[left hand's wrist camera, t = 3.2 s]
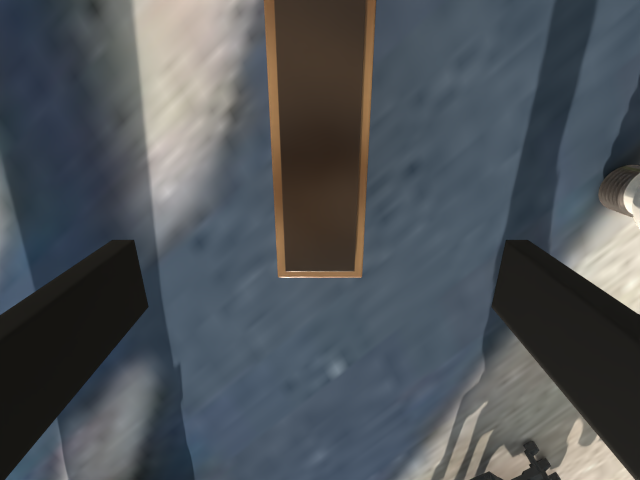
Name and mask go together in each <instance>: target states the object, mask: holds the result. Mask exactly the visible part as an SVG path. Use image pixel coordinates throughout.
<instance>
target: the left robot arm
mask: <svg viewBox="0 0 640 480" xmlns="http://www.w3.org/2000/svg"><path fill="white" fill-rule="evenodd" d="M147 308H148V302H147V298H146V293H145V289H144V284H143V279H142V275H141V270H140V265H139V261H138V256H137V252H136V247H135V242H134V240H112V241H110V242H109V243H107V244H106V245H104V246H103V247H101V248H100V249H98V250H97V251H95V252H94V253H92V254H91V255H89V256H88V257H86V258H85V259H83V260H82V261H80V262H79V263H77V264H76V265H74V266H73V267H71V268H70V269H68V270H67V271H65V272H64V273H62V274H61V275H59V276H58V277H56V278H55V279H53V280H52V281H51V282H49V283H48V284H46V285H45V286H43V287H42V288H40V289H39V290H37V291H36V292H34V293H33V294H31V295H30V296H28V297H27V298H25V299H24V300H22V301H21V302H19V303H18V304H16V305H15V306H13V307H12V308H10V309H9V310H7V311H6V312H4V313H3V314H1V315H0V480H5V479H6V478H7V476H8V475H9V474H10V473H11V472H12V470H13V469H14V468H15V467H16V466H17V464H18V463H19V462H20V461H21V460H22V458H23V457H24V456H25V455H26V454H27V452H28V451H29V450H30V449H31V448H32V446H33V445H34V444H35V443H36V442H37V440H38V439H39V438H40V437H41V436H42V434H43V433H44V432H45V431H46V429H47V428H48V427H49V426H50V425H51V423H52V422H53V421H54V420H55V419H56V417H57V416H58V415H59V414H60V413H61V411H62V410H63V409H64V408H65V407H66V405H67V404H68V403H69V402H70V401H71V399H72V398H73V397H74V396H75V395H76V393H77V392H78V391H79V390H80V389H81V387H82V386H83V385H84V384H85V383H86V381H87V380H88V379H89V378H90V377H91V375H92V374H93V373H94V372H95V371H96V369H97V368H98V367H99V366H100V365H101V363H102V362H103V361H104V360H105V359H106V357H107V356H108V355H109V354H110V353H111V351H112V350H113V349H114V348H115V347H116V345H117V344H118V343H119V342H120V340H121V339H122V338H123V337H124V336H125V334H126V333H127V332H128V331H129V330H130V328H131V327H132V326H133V325H134V324H135V322H136V321H137V320H138V319H139V318H140V316H141V315H142V314H143V313H144V312H145V310H146V309H147ZM492 308H493V309H494V310H495V312H496V313H497V314H498V315H499V316H500V318H501V319H502V320H503V321H504V322H505V324H506V325H507V326H508V327H509V328H510V330H511V331H512V332H513V333H514V334H515V336H516V337H517V338H518V339H519V340H520V342H521V343H522V344H523V345H524V347H525V348H526V349H527V350H528V351H529V353H530V354H531V355H532V356H533V357H534V359H535V360H536V361H537V362H538V363H539V365H540V366H541V367H542V368H543V369H544V371H545V372H546V373H547V374H548V375H549V377H550V378H551V379H552V380H553V381H554V383H555V384H556V385H557V386H558V387H559V389H560V390H561V391H562V392H563V393H564V395H565V396H566V397H567V398H568V399H569V401H570V402H571V403H572V404H573V405H574V407H575V408H576V409H577V410H578V411H579V413H580V414H581V415H582V416H583V417H584V419H585V420H586V421H587V422H588V423H589V425H590V426H591V427H592V428H593V429H594V431H595V432H596V433H597V434H598V436H599V437H600V438H601V439H602V440H603V442H604V443H605V444H606V445H607V446H608V448H609V449H610V450H611V451H612V452H613V454H614V455H615V456H616V457H617V458H618V460H619V461H620V462H621V463H622V464H623V466H624V467H625V468H626V469H627V470H628V472H629V473H630V474H631V475H632V476H633V478H634V479H635V480H640V315H639V314H637V313H636V312H634V311H633V310H631V309H630V308H628V307H627V306H625V305H624V304H622V303H621V302H619V301H618V300H616V299H615V298H613V297H612V296H610V295H609V294H607V293H606V292H604V291H603V290H601V289H600V288H598V287H597V286H595V285H594V284H592V283H591V282H589V281H588V280H587V279H585V278H584V277H582V276H581V275H579V274H578V273H576V272H575V271H573V270H572V269H570V268H569V267H567V266H566V265H564V264H563V263H561V262H560V261H558V260H557V259H555V258H554V257H552V256H551V255H549V254H548V253H546V252H545V251H543V250H542V249H540V248H539V247H537V246H536V245H534V244H533V243H531V242H530V241H528V240H506V242H505V247H504V252H503V256H502V261H501V265H500V270H499V275H498V279H497V284H496V289H495V293H494V298H493V302H492Z"/></svg>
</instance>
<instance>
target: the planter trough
mask: <svg viewBox="0 0 640 480" xmlns="http://www.w3.org/2000/svg"><path fill="white" fill-rule="evenodd" d="M264 11H265V30H266V50H267V70H268V89H269V109H270V128H271V148H272V168H273V187H274V207H275V227H276V246H277V266H278V277H362V266H363V247H364V227H365V207H366V188H367V168H368V148H369V129H370V109H371V90H372V70H373V50H374V31H375V11H376V0H264Z"/></svg>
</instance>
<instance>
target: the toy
mask: <svg viewBox="0 0 640 480" xmlns="http://www.w3.org/2000/svg"><path fill="white" fill-rule="evenodd" d="M524 447H525V448H526V450H525V451H524V452H525V454H526V456H527V457H528V459H529V461H530V463H531V464H529V466H530V467H531V468H529V469H527V470H525V471H523V473H522V475H520V476H518V477H516V478H514V479H511V480H561V479H560V477H559V476H558V474H557V473H556V472H554V473H553V474H551V475H549V476H548V475H547V474H546V472H545V471H546V470H547V469H549V468H550V466H551V465H550V464H549V462H548V461H547V459H546V458H545V459H543V460H540V461H538V462H536V460H535V458H534V455H535V454H536V453H537V452H538V451H539V449H538V447H537V446H536V444H535V443H534V442H533V441H532V442H530V443H528V444H525V445H524ZM470 480H503V479H501V478H499V477H497V476H495V475H494V474H492V473H491V472H490V471H489V472H487V473H484V474H482V475H480V476H477V477H475V478H473V479H470Z"/></svg>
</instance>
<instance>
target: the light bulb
mask: <svg viewBox="0 0 640 480" xmlns="http://www.w3.org/2000/svg"><path fill="white" fill-rule="evenodd" d="M599 199H600V201H601V203H602V204H603V205H604V206H605V207H607V208H609V209H611V210H614V211H616V212H619V213H622V214H624V215H627V216H630V217H634V220H635V222H636V225H637V226H638V227H639V229H640V166H639V165H627V166H623V167H620V168H618V169H616V170H614V171H613V172H611V173H610V174H609V175H608V176H607V177H606V178H605V179H604V180H603V182H602V184H601V186H600V188H599Z"/></svg>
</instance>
